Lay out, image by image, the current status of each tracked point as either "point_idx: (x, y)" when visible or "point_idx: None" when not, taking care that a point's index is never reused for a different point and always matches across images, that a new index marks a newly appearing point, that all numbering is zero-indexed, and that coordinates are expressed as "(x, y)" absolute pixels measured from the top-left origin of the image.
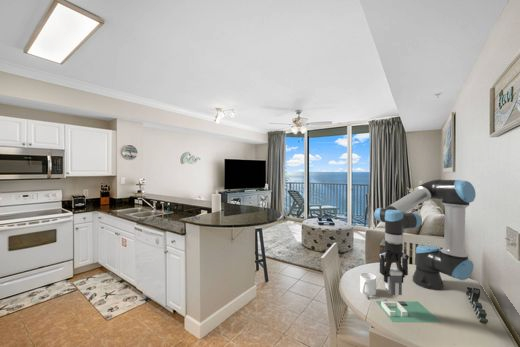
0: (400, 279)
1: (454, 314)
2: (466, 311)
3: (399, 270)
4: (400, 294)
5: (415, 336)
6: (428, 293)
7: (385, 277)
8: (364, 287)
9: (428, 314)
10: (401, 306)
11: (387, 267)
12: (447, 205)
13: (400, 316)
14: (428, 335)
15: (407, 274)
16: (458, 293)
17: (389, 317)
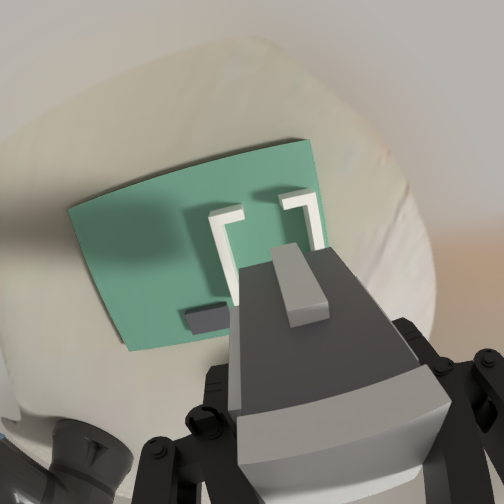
0: (259, 366)
1: (27, 296)
2: (3, 320)
3: (257, 494)
4: (249, 269)
5: (222, 73)
6: (91, 405)
7: (432, 352)
8: None
9: (104, 258)
10: (227, 266)
11: (481, 462)
12: None
13: (250, 200)
14: (156, 100)
15: (146, 448)
16: (24, 402)
17: (314, 176)
